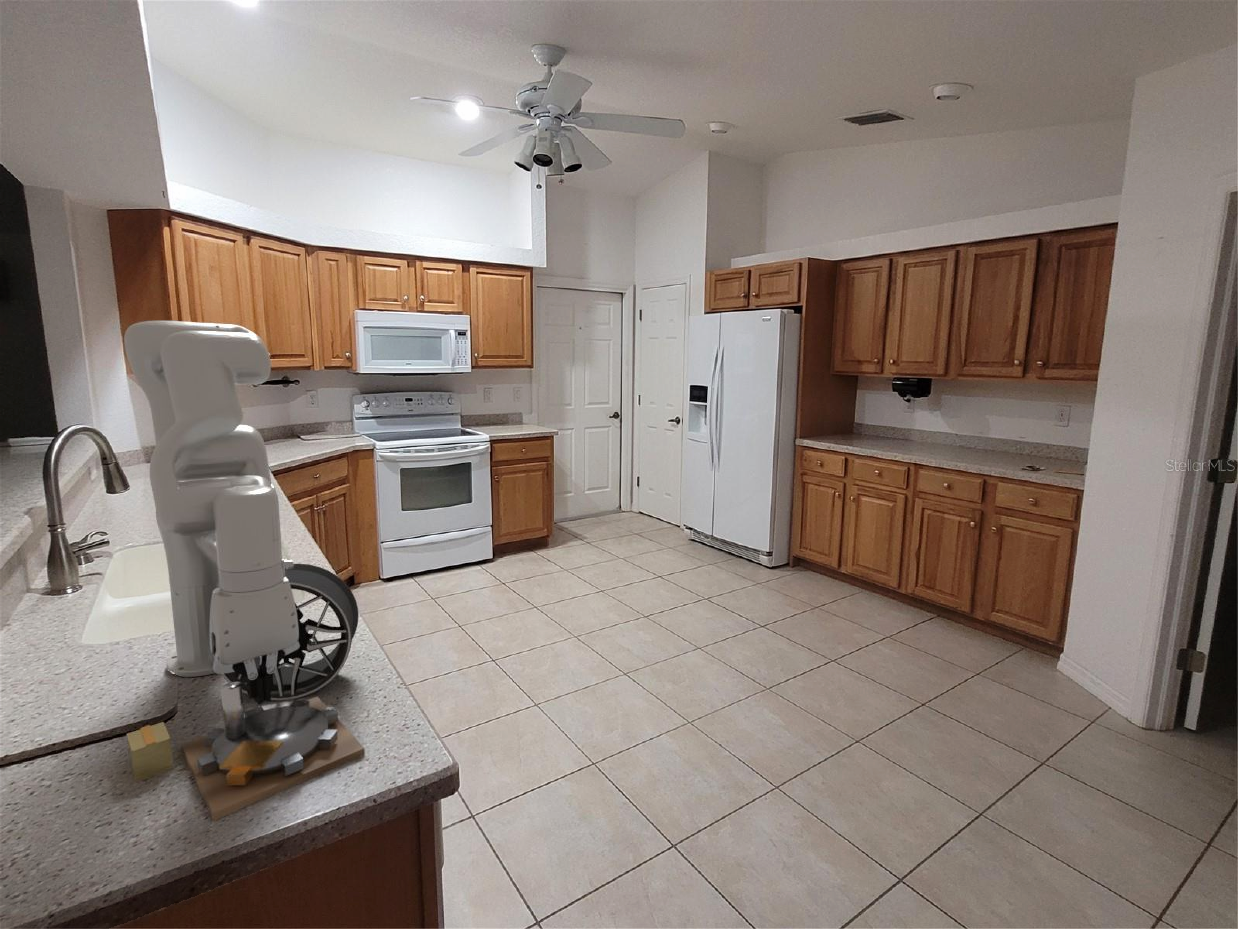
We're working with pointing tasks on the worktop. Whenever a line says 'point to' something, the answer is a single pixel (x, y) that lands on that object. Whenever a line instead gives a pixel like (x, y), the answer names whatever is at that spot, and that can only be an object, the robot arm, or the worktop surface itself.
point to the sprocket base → (236, 797)
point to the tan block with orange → (149, 751)
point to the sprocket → (265, 738)
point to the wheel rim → (313, 636)
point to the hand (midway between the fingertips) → (261, 698)
